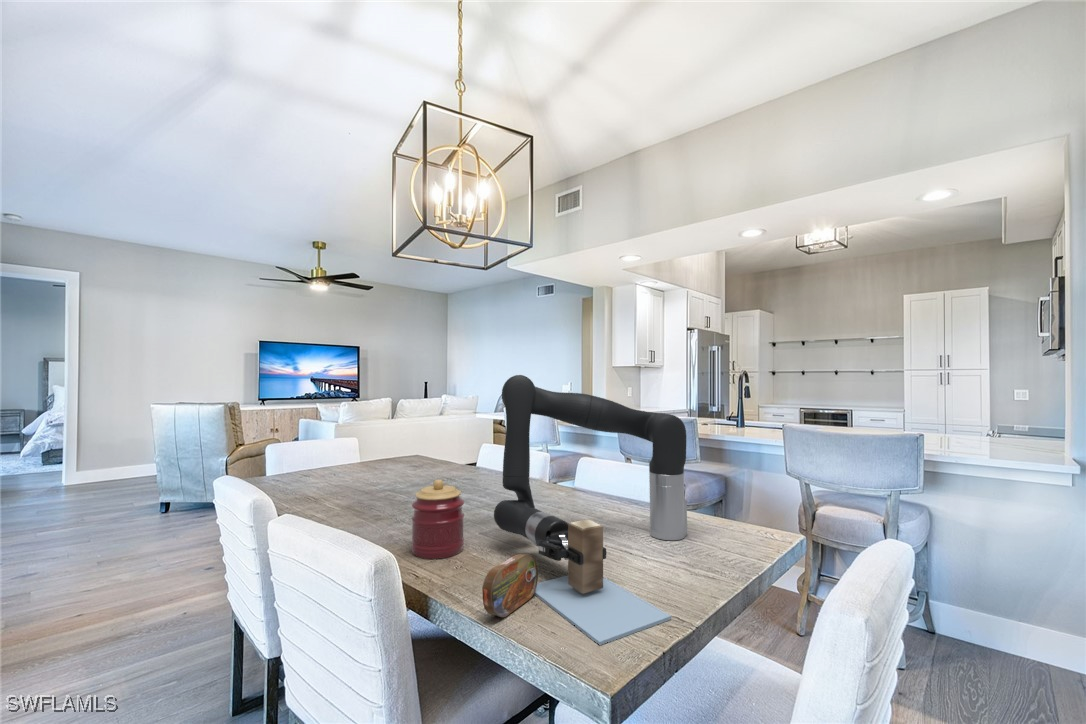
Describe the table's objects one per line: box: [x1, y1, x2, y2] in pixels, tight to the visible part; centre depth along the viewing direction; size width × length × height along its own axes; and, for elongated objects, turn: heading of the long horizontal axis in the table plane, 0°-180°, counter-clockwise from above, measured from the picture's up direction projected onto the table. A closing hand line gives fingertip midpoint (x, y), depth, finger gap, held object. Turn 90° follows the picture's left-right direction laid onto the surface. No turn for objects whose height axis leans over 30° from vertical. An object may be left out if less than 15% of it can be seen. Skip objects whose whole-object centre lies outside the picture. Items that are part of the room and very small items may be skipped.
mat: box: [533, 574, 672, 646], centre depth 89 cm, size 16×24×1 cm, turn 31°
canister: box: [410, 479, 465, 560], centre depth 118 cm, size 13×13×18 cm
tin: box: [481, 553, 539, 618], centre depth 88 cm, size 15×3×8 cm, turn 148°
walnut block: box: [567, 519, 604, 594], centre depth 93 cm, size 5×5×12 cm
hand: (593, 556), depth 91 cm, fingers closed on walnut block, 5 cm apart
